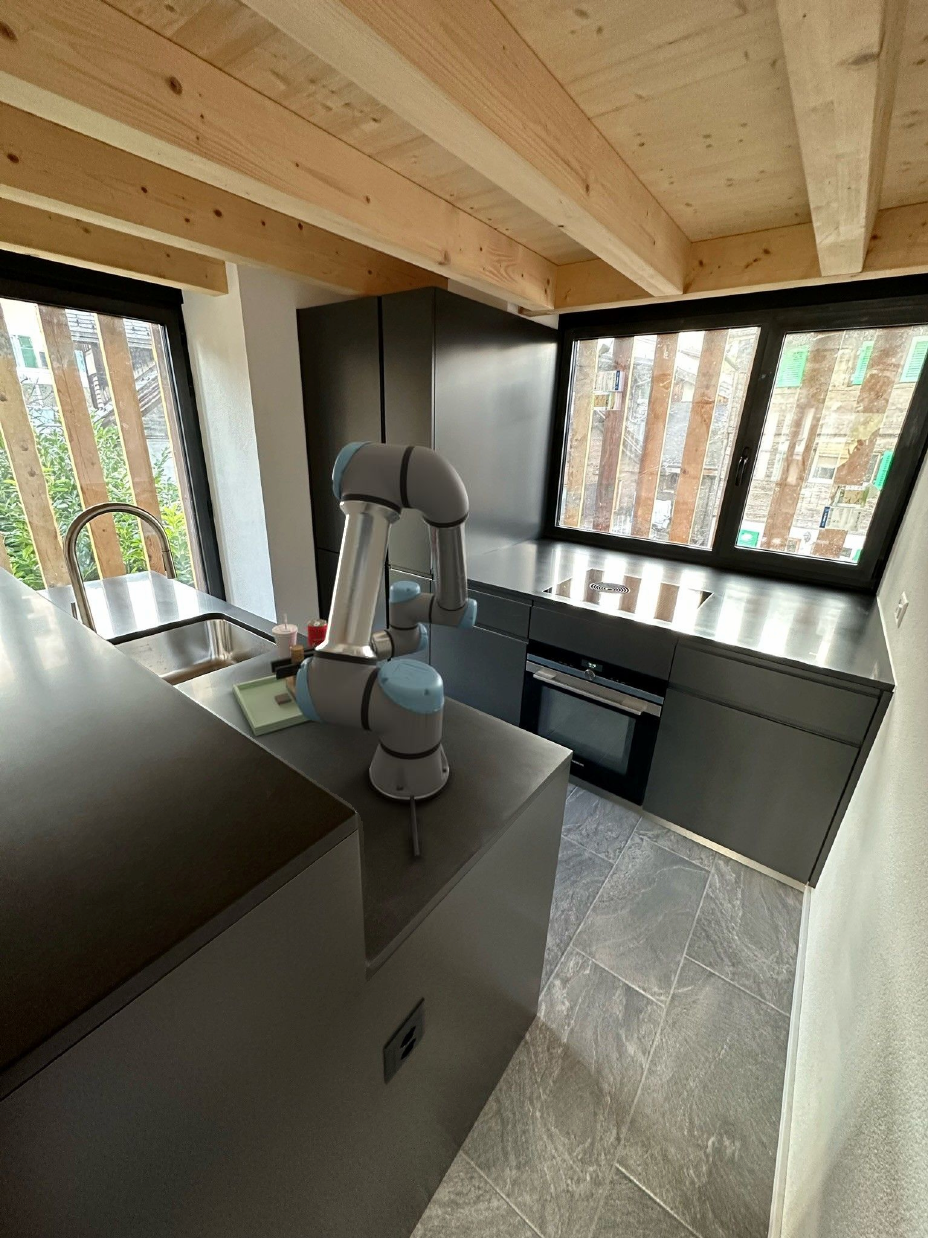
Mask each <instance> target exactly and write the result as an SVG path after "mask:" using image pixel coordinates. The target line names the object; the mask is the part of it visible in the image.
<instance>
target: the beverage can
mask: <svg viewBox="0 0 928 1238" xmlns="http://www.w3.org/2000/svg"><path fill="white" fill-rule="evenodd" d="M306 626H307V627H306V628H307V642H308V645H307V646H308V647H311V646H314V645H318V644H321V643H323V642H324V640H325V637H326V631H327V626H328V621H327V620H325V619H321V618H315V619H311V620H309V621H308V622H307V625H306Z"/></svg>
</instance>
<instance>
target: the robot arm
mask: <svg viewBox="0 0 928 1238" xmlns="http://www.w3.org/2000/svg"><path fill="white" fill-rule="evenodd" d="M331 478H332V481H333V483H332V490H333V494H334V497H335V498H336V499H337V500H338V501H340V502H339V508H340V510H341V511H342V512H343V514H344V515H345V522H344V527H343V528H344V529H343V533H342V540H341V545H340V551H339V557H338V562H337V568H336V575H335V579H334V585H333V590H332V598H331V603H330V610H329V615H328V620H327V624H328V626H327V631H326V637H325V640H324V642H323V643H321V644H318V645H314V646H311V647H309V646H307V647H303V651H304V661H303V662H299V663H294V664H292V662H291V657H288V658H283V659H280V658H279V659H275V660H271V661H270V669H271V670H270V671H271V673H272V674H275V675H276V679H277V680H279V679H283V678H287V677H291V676H296V675H297V678H296V700H297V704H298V707H299V709H300V712H301V713H302V715H303V716H304V717H306V718H307V719H309V720H308V721H313V722H317V723H321V724H323V725H324V726H325V725H326V726H329V725H333V726H338V727H344V728H348V729H349V728H350V729H356V730H361V731H367V732H373V733H378V745H377V747H376V750H375V753H374V756H373V758H372V760H371V762H370V767H369V783H370V785H371V787H372V789H373V790H374V792H376V794H377V795H379V796H380V797H382V798H383V799H385V800H387V801H389V802H393V803H397V804H403V805H404V804H405V805H406V804H407V805H409V804H410V815H411V827H412V828H411V830H412V840H413V851H414V853H413V854H414V858H415V859H419V858H420V848H419V839H418V827H417V815H416V804H420V803H423V802H427V801H430V800H432V799H434V798H436V797H437V796H438V795H439V794H441V793H442V792H443V791H444V789H445V788H446V787H447V785H448V781H449V776H450V775H449V774H450V767H449V762H448V759H447V757H446V754H445V750H444V748H443V744H442V734H443V733H442V730H443V716H444V706H445V696H444V681H443V679H442V676H441V675H440V674H439V672H437V670H436V669H435V668H434V667H432V666H430V664H426V663H425V662H423V661H420V660H415V659H410V658H400V659H399V660H397V659H395V658H399V657H402V656H407V655H413V654H416V653H418V652H421V651H423V650H425V649H426V648H427V646H428V643H429V637H428V631H427V629H426V627H425V626H424V624H429V625H437V626H443V627H448V628H449V627H450V628H455V629H459V628H461V629H472V628H473V627H474V625H475V623H476V619H477V613H478V602H477V600H476V599H473V598H470V597H468V577H467V557H466V556H467V553H466V551H467V550H466V529H465V526H466V525H465V523H466V521H467V520H468V518H469V516H470V505H469V497H468V492H467V490H466V487H465V484H464V482H463V480H462V479H461V477H460V474H459V473H458V471H457V470H456V469H455V467H454V466H453V465H452V463H450V461H449V460H448V459H447V458H445V457H444V456H443V455H442V454H441V453H440V452H437V451H436V450H435V449H432V448H429V447H426V446H421V445H414V446H413V445H406V444H405V445H403V444H393V443H381V442H374V441H371V440H368V441H352V442H350V443H348V444H346V445H344V447H342V449H341V450H340V451H339V453H338V455H337V457H336V459H335V463H334V465H333V471H332V477H331ZM403 509H409V510H418V511H419V512H420V513H421V518H422V521H423V522H424V523H425V524H426V525H427V529H428V538H429V546H430V554H431V555H430V556H431V562H432V572H433V579H434V588H435V593H428V592H421V586H420V584H419V583H417V582H413V581H411V580H399V581H395V582H394V583H392V584H391V586H390V587H389V599H388V606H389V607H388V609H389V610H388V613H389V617H388V618H389V620H388V621H389V626H388V627H389V628H386V629H381V630H377V631H375V625H376V619H377V613H378V608H379V607H378V606H379V602H380V595H381V588H382V583H383V578H384V577H383V576H384V570H385V563H386V558H387V554H388V553H387V552H388V546H389V539H390V533H391V527H392V526H393V525H394V524H395V523H397V522H399V521H400V519H401V515H402V510H403ZM422 623H423V624H422ZM390 659H392V660H390ZM385 660H389V661H386V662H385V663H383V665H381V666H380V667H377V663H378V662H383V661H385Z"/></svg>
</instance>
